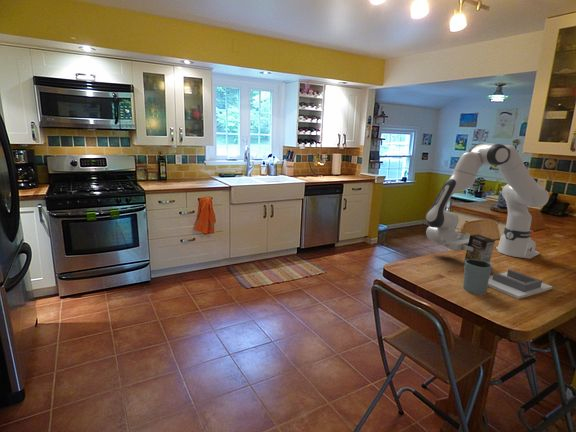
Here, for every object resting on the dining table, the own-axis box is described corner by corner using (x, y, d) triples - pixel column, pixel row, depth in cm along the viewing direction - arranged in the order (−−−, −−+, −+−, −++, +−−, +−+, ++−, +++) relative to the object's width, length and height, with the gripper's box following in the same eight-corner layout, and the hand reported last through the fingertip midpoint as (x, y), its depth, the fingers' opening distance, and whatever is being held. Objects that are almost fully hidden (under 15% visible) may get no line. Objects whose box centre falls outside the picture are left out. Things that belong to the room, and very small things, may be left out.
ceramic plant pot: (476, 296, 138) (481, 268, 135) (455, 286, 147) (459, 259, 144) (493, 292, 142) (498, 265, 139) (471, 283, 151) (476, 257, 148)
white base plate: (509, 273, 163) (511, 265, 162) (551, 289, 148) (553, 280, 147) (476, 281, 153) (478, 272, 152) (518, 299, 137) (520, 289, 136)
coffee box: (462, 265, 170) (469, 235, 166) (471, 264, 173) (478, 233, 168) (479, 273, 162) (486, 241, 158) (488, 271, 165) (495, 239, 161)
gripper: (441, 236, 172) (465, 244, 160) (468, 232, 180) (493, 239, 168) (439, 248, 173) (463, 257, 161) (466, 243, 182) (491, 251, 170)
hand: (479, 248), depth 165 cm, fingers closed on coffee box, 6 cm apart
